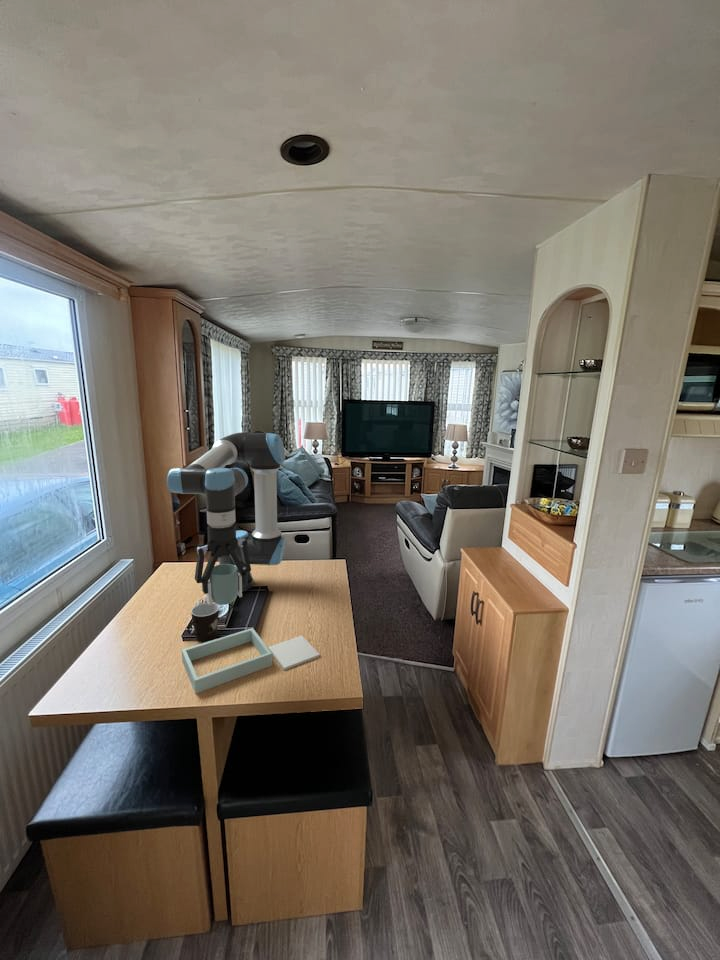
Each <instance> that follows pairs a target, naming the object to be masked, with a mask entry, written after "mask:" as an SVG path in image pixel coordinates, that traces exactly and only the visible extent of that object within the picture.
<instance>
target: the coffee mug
mask: <svg viewBox="0 0 720 960" xmlns="http://www.w3.org/2000/svg"><path fill="white" fill-rule="evenodd" d="M190 612H191V613H190V614H191V617H192V621H190V623H189V624H188V626H187V633H188V634H189V635H191V636H195V638H196V641H197V642H199V643H205V642H208V641H212V640H215V639H217V637H218V636H217V635H218V626H219V616H220V615H219V613H220V605H219V604H217V603H215V602H212V605H209V604H208V602H203V603H200V604H197V605H196V606H193V607H192V609H191V610H190ZM192 625H193V629H194V632H195V633H194V632H191V631H190V629H191V627H192Z"/></svg>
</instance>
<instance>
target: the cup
mask: <svg viewBox="0 0 720 960" xmlns="http://www.w3.org/2000/svg"><path fill="white" fill-rule="evenodd" d="M209 581H210V583H211V595H212V602H213V603H215V604H217V605H219V606H220V605H221V606H222V605H223V606H225V605H229V604H231V603H233V602H235V600H236V599H237V597H238V568H237V567H236V566H235V565H232V564H220V565H219V564H217V565H216V564H215V566H214V568H213V571H212V573H211V576H210V578H209Z"/></svg>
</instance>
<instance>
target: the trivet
mask: <svg viewBox="0 0 720 960" xmlns="http://www.w3.org/2000/svg"><path fill="white" fill-rule="evenodd" d="M267 647H268V649H269V650H270V651H271V653H272V657H273V658H274V659H275V660H276V662H277V663H278V664H279V666H280V667H281V668H282V670H283V671H286V670H288V669H291V668H294V667H296V666H299V665H302V664H304V663H307V662H309V661H311V660H314V659H317V658H320V655H321V654H320V653H319V652H318V651H317V650H316V649H315V647H314V646H313V645H311V643H310V642H309V641H308V640H307V639H306V638H305V637H304V636H303V635H299V636H296V637H294V638H290V639H287V640H285V641H282V642H279V643H277V644H273V645H271V646H270V645H269V646H267Z"/></svg>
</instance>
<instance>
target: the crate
mask: <svg viewBox="0 0 720 960" xmlns="http://www.w3.org/2000/svg"><path fill="white" fill-rule="evenodd" d="M247 643H252V644H253V646H254V647H255V649H256V650H257V651H258V653H259V654H260V655H257V656H255V657H252V658H249V659H246V660H243V661H240V662H238V663H237V662H236V663H234V664H231V665H229V666H226V667H223V668H220V669H217V670H214V671H211V672H209V673H206V674H203V675H201V676H198V675H197V672H196V671H195V670H196V669H195V668H194V666H193V663H192V661H194V660H197V659H198V660H199V659H201V658H204V657H207V656H210V655H214V654H216V653H219V652H222V651H225V650H229V649H232V648H235V647H238V646H241V645H244V644H247ZM268 647H269V646H267V645H266V643H265V642H264V640H263V639H262V638H261V637H260V635H259V634H258V632H256V630H255V629H254V627H251V628H248V629H244V630H241V631H238V632H235V633H231V634H229V635H226V636H222V637H219V638H215V639H214V640H212V641H208V642H201V643H199V644H196V645H193V646H189V647H186V648H183V649H181V658H182V659H181V661H182V664H183V666H184V670H185V671H186V673H187V676H188V678H189V679H188V680H189V681H190V684H191V686H192V689H193V691H194V694H195V695H196V694H198V693H202V692H204V691H206V690H210V689H212V688H215V687H218V686H220V685H223V684H226V683H228V682H231V681H233V680H236V679H239V678H242V677H245V676H247V675H251V674H252V673H253V674H254V673H255V672H258V671H260V670H263V669H265V668H269V667H271V666H273V655H272V653H271V651H270V650H269V649H268Z"/></svg>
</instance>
